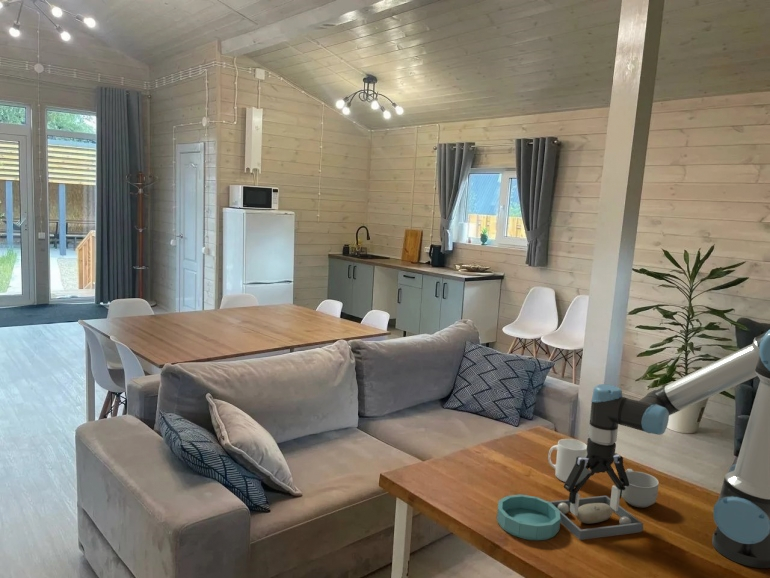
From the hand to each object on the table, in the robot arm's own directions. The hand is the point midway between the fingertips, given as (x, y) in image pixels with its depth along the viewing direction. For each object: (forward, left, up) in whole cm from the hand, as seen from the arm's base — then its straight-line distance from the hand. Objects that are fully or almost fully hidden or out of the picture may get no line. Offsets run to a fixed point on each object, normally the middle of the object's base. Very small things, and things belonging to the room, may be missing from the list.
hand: (593, 511), depth 168 cm
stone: (0, 0, -3) cm, 3 cm away
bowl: (+2, +20, -3) cm, 20 cm away
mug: (+26, -8, -3) cm, 27 cm away
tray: (0, 0, -3) cm, 3 cm away
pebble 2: (-5, -7, -3) cm, 9 cm away
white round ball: (+5, +7, -3) cm, 9 cm away
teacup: (+8, -21, -3) cm, 23 cm away
